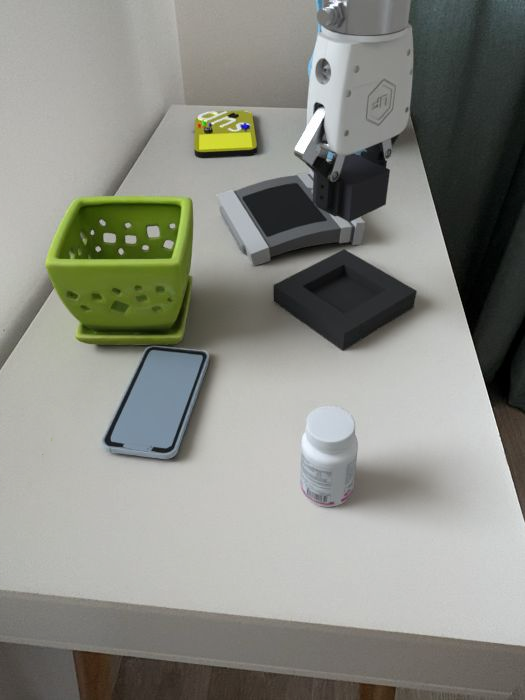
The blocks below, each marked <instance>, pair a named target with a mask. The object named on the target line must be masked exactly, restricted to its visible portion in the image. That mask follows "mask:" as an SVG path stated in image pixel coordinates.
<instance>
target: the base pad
mask: <svg viewBox="0 0 525 700" xmlns="http://www.w3.org/2000/svg"><path fill="white" fill-rule="evenodd" d="M417 291H418V290H416V289H414V288H413V287H411V286H410V285H408V284H406V283H404V282H403V281H401V280H399V279H397V278H396V277H394V276H392V275H390V274H389V273H387V272H385V271H383V270H382V269H380V268H378V267H376V266H374V265H373V264H371V263H370V262H368V261H366V260H364V259H362V258H361V257H359V256H358V255H355V254H353V253H352V252H350V251H348V250H346V249H345V248H344V249H342V250H339V251H338V252H335V253H333V254H332V255H330V256H328V257H325V258H323V259H322V260H320V261H318V262H316V263H314V264H312V265H310V266H308V267H306V268H305V269H302V270H300V271H298V272H296V273H295V274H292V275H291V276H288V277H286V278H284V279H282V280H280V281H279V282H277V283H275V284H273V285H272V301H273V303H275V304H276V305H277V306H278V307H281V308H282V309H283V310H284V311H286V312H288V313H289V314H290V315H292V316H293V317H295V318H296V319H297V320H299V321H300V322H302V324H304V325H306V326H307V327H308V328H310V329H311V330H313V331H314V332H316V333H317V334H318V335H320V336H321V337H323V338H324V339H326V340H327V341H328V342H330V343H331V344H333V345H334V346H335V347H337V348H338V349H339V350H341V351H345V350H347V349H348V348H350V347H352V346H353V345H355V344H357V343H358V342H360V341H361V340H363V339H365V338H366V337H368V336H370V335H371V334H373V333H375V332H376V331H378V330H380V329H381V328H383V327H384V326H386V325H387V324H389V323H391V322H392V321H394V320H396V319H397V318H399V317H401V316H402V315H404V314H405V313H407V312H409V311H410V310H412V309H414V308H415V302H416V297H417Z"/></svg>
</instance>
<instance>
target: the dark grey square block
mask: <svg viewBox="0 0 525 700" xmlns="http://www.w3.org/2000/svg"><path fill="white" fill-rule="evenodd" d="M331 161H332V159H330V160H329V161H327V162H328V163H329V164H331ZM390 173H391V169H390V168H388V167H386V168H385V167H383V166H381V165H379V164H376V163H374V162H372V161H370V160H367V159H365V158H363V157H361V156H360V155H356V154H354V153H353V154H351V155H347V156H345V159H344V163H343V166H342V169H341V173H340V176H339V178H341V179H343V193H342V206H341V214H340V215H338V216H339V217H340V218H342V219H344V220H346V221H348V222H351V221H353V220H355V219H357V218H359V217H361V218H362V217H363V216H366V215H368V214H369V213H372V212H374V211H375V210H378V209H379V208H382V207H383V206H386V204H387V198H388V189H389V181H390ZM316 183H317V174H316V173H314V178H313V203H314V204H316Z"/></svg>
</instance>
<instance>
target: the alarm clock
mask: <svg viewBox="0 0 525 700" xmlns="http://www.w3.org/2000/svg"><path fill="white" fill-rule="evenodd" d="M313 178H314V172H312V169H311V168H309V170H308V173H307V172H301V173H300V172H299V173H297V174H295V175H287V176H281V177H275V178H271V179H267V180H263V181H260V182H256V183H254V184H250V185H247V186H245V187H241V188H239V189H236V190H234V189H233V188H230V189H228V190H225V191H222V192H220V193H217V194H216V199H217V202H218V206H219V207H218V209H219V212H220V215H221V217H222V219H223V221H224V222H225V224H226V226H227V228H228V230H229V232H230V233H231V235H232V237H233V239H234V240H235V242H236V244H237V245H238V247H239V250H240V251H241V253H242V254H246V256H247V257H248V259H249V261H250V263H251V265H252V267H256V266H258V265H259V266H260V265H263V264H264V263H268V262H270V261H271V258H272V257H275V256H277V255H278V256H279V255H281V254H284V253H286V252H291V251H295V250H298V249H299V250H300V249H302V248H306V247H311V246H312V247H313V246H318V245H324V244H331V243H339V244H344V243H345V244H347V243H350V244H351V245H352V246H361V245H362V241H363V236H364V230H365V226H366V221H365V220H364V219H363V218H362V216H361V217H359V218H357V219H355V220H353V221H351V222H348V221H346V220H344V219H342V218H340V217H339V216H336V217H335V216H333V215H331V214H329V213H327V212H326V211H324V210H322V209H320V208H318V207H317V206H316V204H314V203H313Z"/></svg>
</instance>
